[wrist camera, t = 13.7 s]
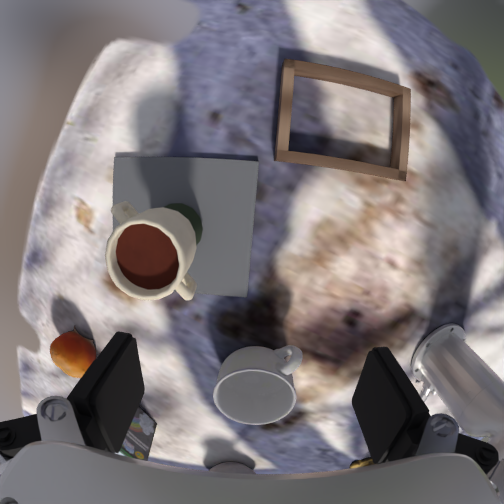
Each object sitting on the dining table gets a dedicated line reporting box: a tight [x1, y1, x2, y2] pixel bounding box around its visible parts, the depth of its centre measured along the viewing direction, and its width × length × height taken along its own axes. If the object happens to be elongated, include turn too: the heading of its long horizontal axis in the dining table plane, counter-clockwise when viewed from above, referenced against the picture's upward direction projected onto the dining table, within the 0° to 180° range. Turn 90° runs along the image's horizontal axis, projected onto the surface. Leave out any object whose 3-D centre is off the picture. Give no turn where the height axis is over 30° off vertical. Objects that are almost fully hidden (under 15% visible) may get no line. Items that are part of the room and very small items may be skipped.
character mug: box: [105, 201, 203, 300], centre depth 28 cm, size 11×7×13 cm, turn 38°
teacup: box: [213, 345, 302, 425], centre depth 37 cm, size 14×11×8 cm
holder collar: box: [274, 59, 411, 181], centre depth 30 cm, size 12×16×2 cm
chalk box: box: [115, 406, 157, 461], centre depth 37 cm, size 9×9×15 cm
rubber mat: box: [113, 157, 259, 297], centre depth 34 cm, size 17×18×1 cm
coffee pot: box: [209, 462, 256, 474], centre depth 42 cm, size 21×12×15 cm, turn 138°
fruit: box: [50, 326, 96, 378], centre depth 37 cm, size 8×8×8 cm
